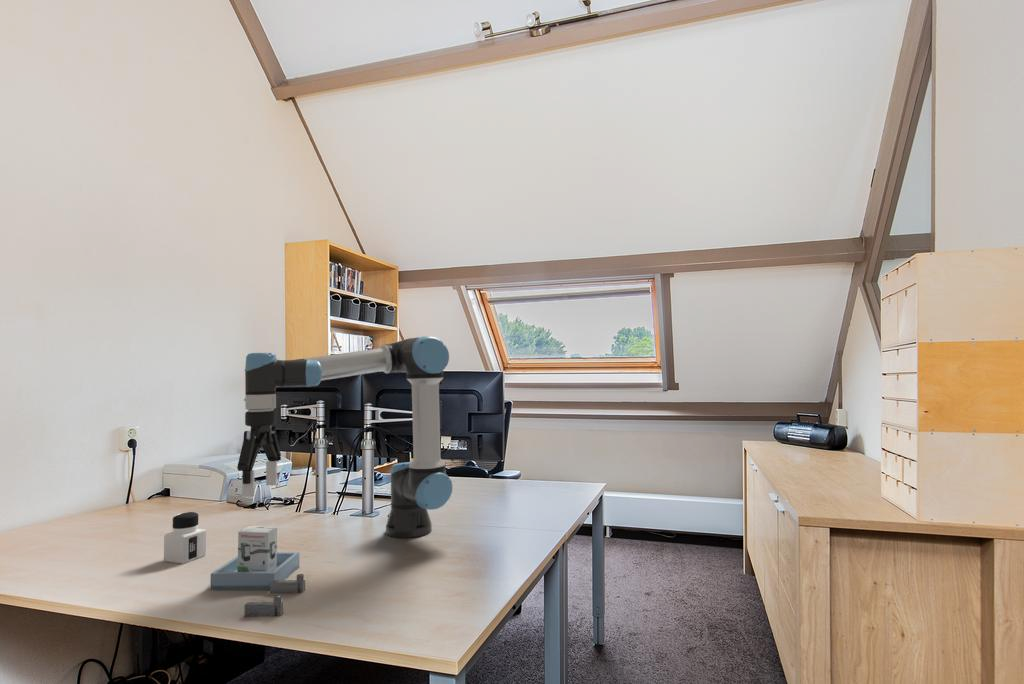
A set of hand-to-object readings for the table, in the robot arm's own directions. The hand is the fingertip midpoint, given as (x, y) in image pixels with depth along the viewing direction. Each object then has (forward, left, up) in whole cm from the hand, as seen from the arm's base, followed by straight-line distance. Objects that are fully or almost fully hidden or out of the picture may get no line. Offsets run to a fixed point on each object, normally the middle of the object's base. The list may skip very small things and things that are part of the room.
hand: (260, 490), depth 149 cm
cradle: (-12, +17, -23) cm, 30 cm away
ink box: (0, +1, -22) cm, 22 cm away
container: (+29, -15, -23) cm, 40 cm away
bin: (0, +1, -23) cm, 23 cm away
